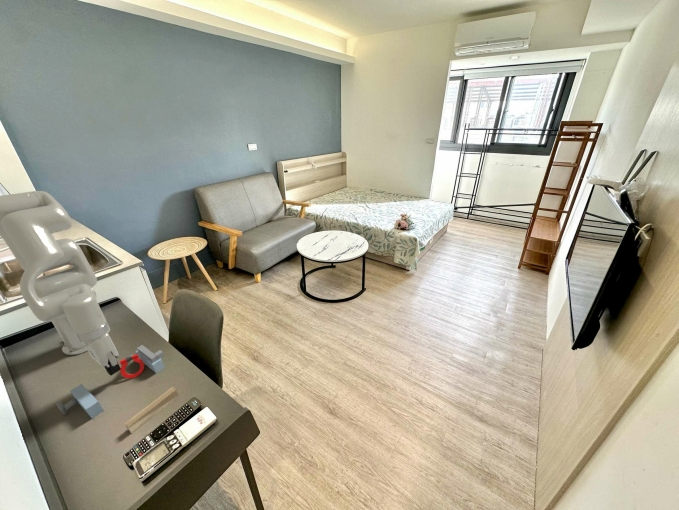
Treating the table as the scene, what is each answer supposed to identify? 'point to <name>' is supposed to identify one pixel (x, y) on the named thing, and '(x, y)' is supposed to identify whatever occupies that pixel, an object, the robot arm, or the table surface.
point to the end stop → (151, 410)
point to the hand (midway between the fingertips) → (114, 371)
